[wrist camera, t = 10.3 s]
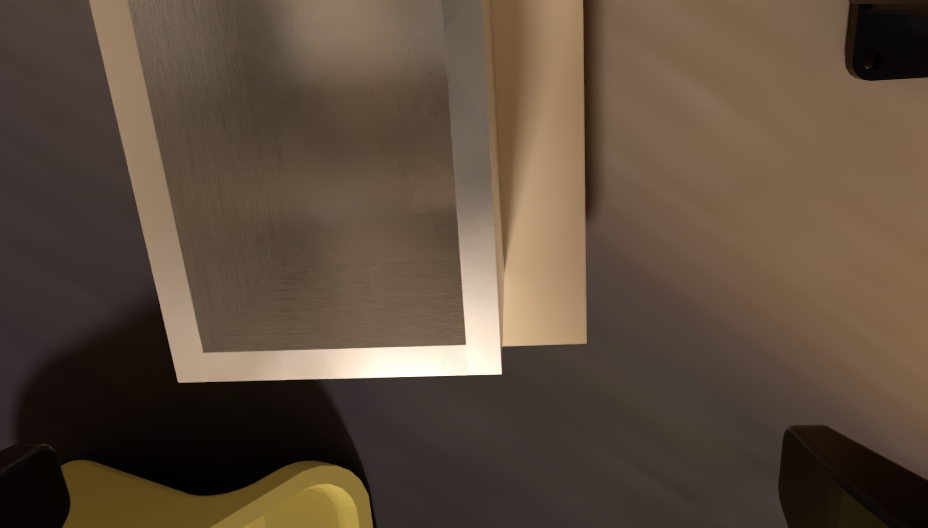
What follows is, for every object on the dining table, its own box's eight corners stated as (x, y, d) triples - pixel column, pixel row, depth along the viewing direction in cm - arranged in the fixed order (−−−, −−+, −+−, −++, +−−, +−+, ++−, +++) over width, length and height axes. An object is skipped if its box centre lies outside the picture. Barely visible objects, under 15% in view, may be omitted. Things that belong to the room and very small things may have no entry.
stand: (567, -281, 16) (579, -341, 13) (576, 296, 21) (586, 343, 18) (138, -236, 17) (62, -283, 14) (243, 309, 21) (203, 356, 19)
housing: (504, 272, 17) (501, 374, 13) (265, 282, 18) (178, 382, 13) (481, -204, 14) (466, -306, 9) (185, -176, 14) (29, -261, 10)
